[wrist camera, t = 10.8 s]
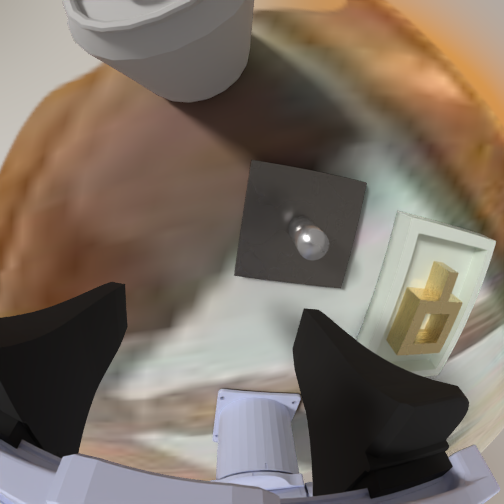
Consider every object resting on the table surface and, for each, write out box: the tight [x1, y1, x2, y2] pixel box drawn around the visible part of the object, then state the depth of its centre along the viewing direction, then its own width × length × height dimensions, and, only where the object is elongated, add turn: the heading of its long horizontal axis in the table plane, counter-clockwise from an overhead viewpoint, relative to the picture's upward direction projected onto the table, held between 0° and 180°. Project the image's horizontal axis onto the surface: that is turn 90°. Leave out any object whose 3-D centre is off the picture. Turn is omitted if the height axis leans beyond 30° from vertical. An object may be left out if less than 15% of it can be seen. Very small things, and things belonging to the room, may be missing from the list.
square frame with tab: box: [386, 261, 463, 355], centre depth 21 cm, size 8×5×2 cm
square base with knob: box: [234, 160, 367, 288], centre depth 18 cm, size 8×8×4 cm
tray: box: [357, 211, 496, 377], centre depth 22 cm, size 15×11×2 cm
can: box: [63, 0, 254, 103], centre depth 10 cm, size 8×8×12 cm
